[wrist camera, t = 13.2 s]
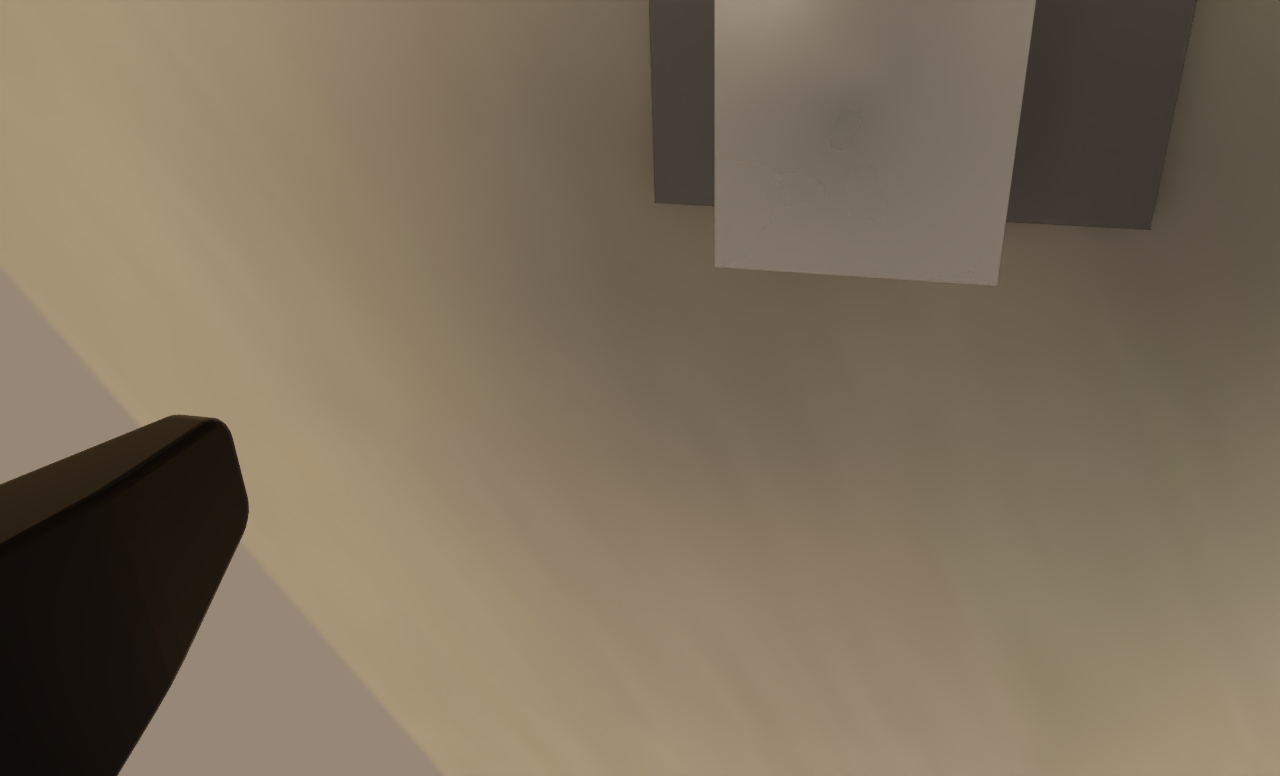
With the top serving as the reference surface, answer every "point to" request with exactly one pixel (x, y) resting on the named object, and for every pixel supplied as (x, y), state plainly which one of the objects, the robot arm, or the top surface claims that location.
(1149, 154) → the rubber pad
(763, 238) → the lever cap
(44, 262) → the top surface
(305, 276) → the top surface
